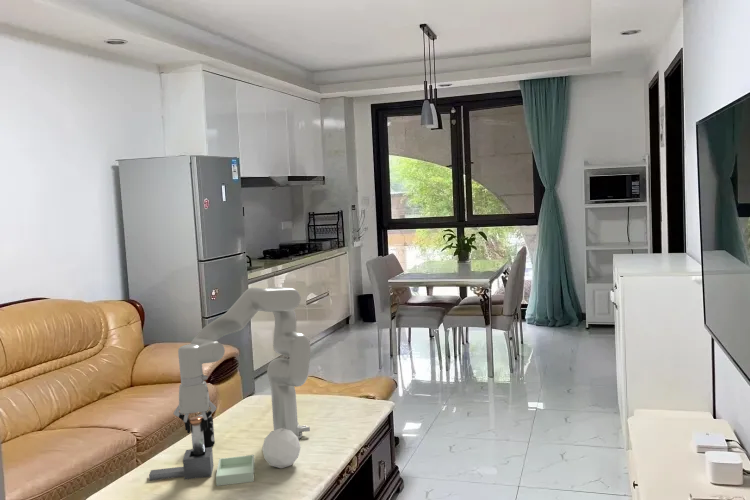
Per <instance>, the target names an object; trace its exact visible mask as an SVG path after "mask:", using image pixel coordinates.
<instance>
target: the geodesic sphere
mask: <svg viewBox="0 0 750 500" xmlns="http://www.w3.org/2000/svg"><path fill="white" fill-rule="evenodd" d="M301 448H302V447H301V444H300V439H298V437H297V436H296V435H295V434H294V433H293V432H292V431H291V430H287V429H285V426H284V429H283V428H280V429H277V430H274V429H273V430H272V431H270V432H269V433H268V434H267V436H266V437H265V438H264V440H263V445H262V454H263V457H264V460H265V461H266V462H267V464H268V465H270V466H272V467H275V468H279V469H283V468H287V467H290V466H292V465H293V464H294V463H295V462H296V461H297V459H298V458H299V455H300V451H301Z"/></svg>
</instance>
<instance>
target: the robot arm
mask: <svg viewBox="0 0 750 500" xmlns="http://www.w3.org/2000/svg"><path fill="white" fill-rule="evenodd" d="M301 298H302V297H301V295H300V292H299V290H297V289H295V288H293V287H284V286H283V287H282V286H268V287H267V288H262V287H250V288H247V289H246V290H245V291H244V292H243V293H242V294H241V295H240V297H238V299H237V300H236V301H235V302H234V303H233V304H232V305H231V307H230V308H229V309H228V310H227V311H226V312H225V313H224V314H223V315H220V316H219V317H217V318H216V319H214V320H212V321H211V322H209V323H208V324H206V325H205V326H204V327H203V328H201V330H200V331H199V332H197V334H196V335H195V336H194V338H193V339H192V340H191V342H190V344H185V345H182V346H180V347H179V348H178V350H177V352H178V353H177V356H178V364H179V375H180V384H179V389H178V405H177V406H176V408H175V410H174V412H173V415H174V416H176V417H178V418H179V419H180V420H181V421H182V422H183V423H184V427H185V428H184V429H185V431H187V434H191V425H190V424H189V419H190V418H189V415H190V414H200V413H201V414H202V415H203V431H206V428H208V421H207V419H208V417H209V416H210V415H211V416H212V414H213V413H214V412H215V411H216V410H217V406H216V405H215V404H214V403H213V402H212V401H211V399H210V392H209V387H208V384H207V382H206V380H208V378H209V377H208V376H209V375H205V374H204V373H203V364H211V363H212V364H213V363H216V362H219V361H220V360H222V359H223V357H224V356H225V351H226V350H225V349H226V348H225V347H224V344H222V343H221V342H219V341H218V340H219V339H221V338H222V337H224V336H226V335H230V334H234V333H237V332H240V331H242V330H243V329H244V328H245V327H246V326H247V325H248V323H249V322H250V321H251V320H252V319H253V317H254V316H255V315H256V314H257V313H258V312H264V313H265V312H267V313H272V314H273V316H274V331H273V344H272V346H273V350H274V352H275V353H276V354H278V355H281V356H284V357H285V356H286V357H289V358H284V357H283V358H282V357H278V358H274V359H272V360H271V361H270V362H269V364H268V365H267V371H266V374H267V379H268V382H269V387H270V393H271V395H270V396H271V409H272V423H273V424H272V425H273V431H274V430H277V429H280V428H283V429H284V426H285V429H287V430H291V431H292V432H293V433H294V434H295V435H296V436H297V437H298V440H300V439H301V438H302V437H303V433H304V432H305V433H307V432H310V431H311V430H310V429H311V428H310V426H309V425H308V426H307V425H305V424H304V425H300V424H299V422H298V406H297V391H296V388H298V387H302V386H303V385H304V384H305V383H306V382H307V380H308V377H309V372H310V370H309V369H310V359H311V358H310V357H311V343H310V339H309V338H308V336H307V335H305V334H304V333H301V332H297V324H298V323H297V322H298V321H297V315H296V311H295V310H296V309H297V308H298V307H299V305H300V303H301V301H302V300H301ZM295 387H296V388H295Z"/></svg>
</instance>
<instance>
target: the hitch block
mask: <svg viewBox="0 0 750 500" xmlns="http://www.w3.org/2000/svg"><path fill="white" fill-rule="evenodd" d="M213 470H214V455H213V446H212V447H208V448H205V452H204V453H203V454H199V455H195V454H193V448H192V449H190V448H189V449H185V452H184V455H183V459H182V466H177V467H169V468H168V467H167V468H161V469H151V470H150V472H149V475H148V477H149V479H148V480H149V481H158V480H165V479H173V478H174V479H175V478H182V477H184V481H185V480H193V479H194V480H195V479H201V478H208V477H209V478H211V477H212V475H213Z"/></svg>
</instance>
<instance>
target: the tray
mask: <svg viewBox="0 0 750 500" xmlns="http://www.w3.org/2000/svg"><path fill="white" fill-rule="evenodd" d="M216 469H217V470H216V475H215V484H216V487H219V486H226V485H235V484H243V483H244V484H245V483H251V482H254V481H255V480H254V479H255V478H254V477H255V455H254V454H251V455H241V456H231V457H223V458H222V457H221V458H218V464H217V468H216Z"/></svg>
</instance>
